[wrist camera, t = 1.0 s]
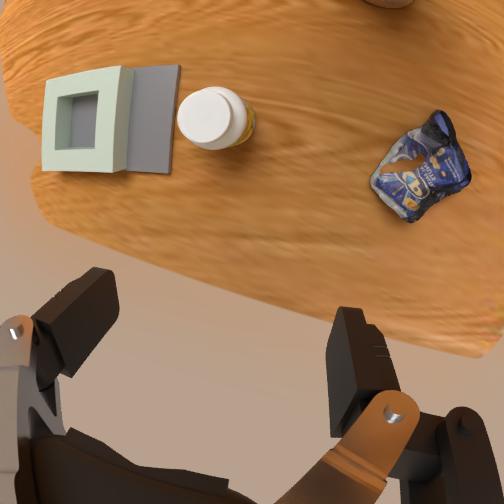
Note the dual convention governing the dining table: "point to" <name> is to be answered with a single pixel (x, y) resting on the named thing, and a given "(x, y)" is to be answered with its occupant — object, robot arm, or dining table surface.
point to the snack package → (423, 169)
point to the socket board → (141, 119)
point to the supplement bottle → (216, 118)
